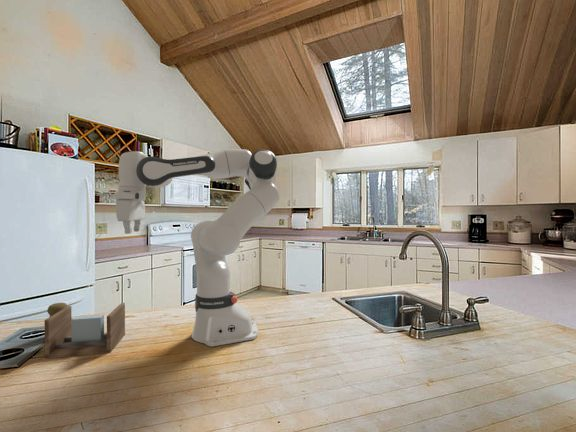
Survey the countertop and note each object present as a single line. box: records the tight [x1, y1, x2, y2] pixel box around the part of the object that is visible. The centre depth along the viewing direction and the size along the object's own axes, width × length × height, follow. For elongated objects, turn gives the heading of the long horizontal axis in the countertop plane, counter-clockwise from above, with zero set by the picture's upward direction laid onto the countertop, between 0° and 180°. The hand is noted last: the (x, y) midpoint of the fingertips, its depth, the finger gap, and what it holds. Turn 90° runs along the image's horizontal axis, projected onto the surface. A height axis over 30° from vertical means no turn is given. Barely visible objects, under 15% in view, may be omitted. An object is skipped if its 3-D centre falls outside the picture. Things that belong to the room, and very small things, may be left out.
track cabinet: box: [44, 302, 126, 359], centre depth 88 cm, size 17×12×11 cm
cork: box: [47, 302, 68, 317], centre depth 94 cm, size 6×6×11 cm
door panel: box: [71, 314, 105, 342], centre depth 88 cm, size 8×2×8 cm, turn 102°
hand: (132, 232), depth 105 cm, fingers open, 8 cm apart
